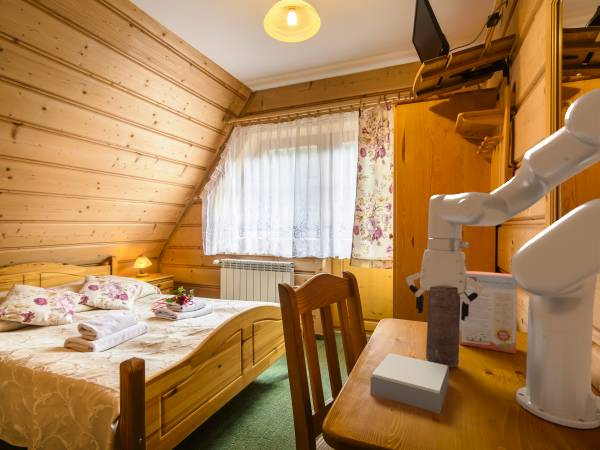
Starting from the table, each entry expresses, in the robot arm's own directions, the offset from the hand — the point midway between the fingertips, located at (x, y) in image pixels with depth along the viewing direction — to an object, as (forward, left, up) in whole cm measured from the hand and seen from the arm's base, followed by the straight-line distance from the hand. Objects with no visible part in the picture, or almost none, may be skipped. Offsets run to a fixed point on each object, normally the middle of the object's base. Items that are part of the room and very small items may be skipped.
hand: (441, 315), depth 80 cm
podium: (+4, +16, -12) cm, 21 cm away
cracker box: (-9, -21, -12) cm, 26 cm away
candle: (0, 0, -12) cm, 12 cm away
